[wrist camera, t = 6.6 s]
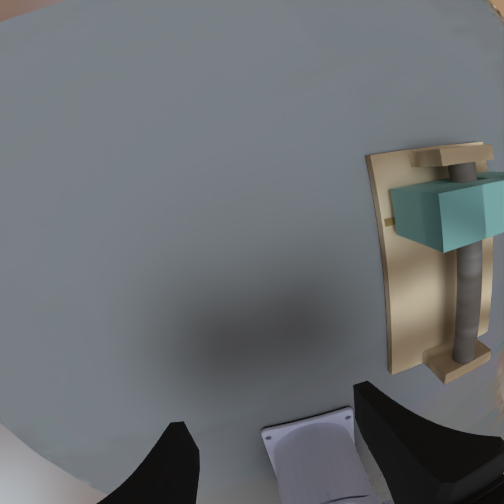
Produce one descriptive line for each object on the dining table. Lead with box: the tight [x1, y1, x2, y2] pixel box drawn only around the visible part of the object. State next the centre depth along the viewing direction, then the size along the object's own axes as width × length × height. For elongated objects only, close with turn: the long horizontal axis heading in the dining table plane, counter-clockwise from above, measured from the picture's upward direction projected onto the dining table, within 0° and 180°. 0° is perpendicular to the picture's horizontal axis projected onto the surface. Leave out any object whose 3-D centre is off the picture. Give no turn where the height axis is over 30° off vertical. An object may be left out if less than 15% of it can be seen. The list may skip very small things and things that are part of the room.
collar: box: [390, 172, 504, 253], centre depth 16 cm, size 3×10×5 cm, turn 103°
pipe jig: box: [365, 142, 494, 384], centre depth 18 cm, size 17×11×5 cm, turn 13°
